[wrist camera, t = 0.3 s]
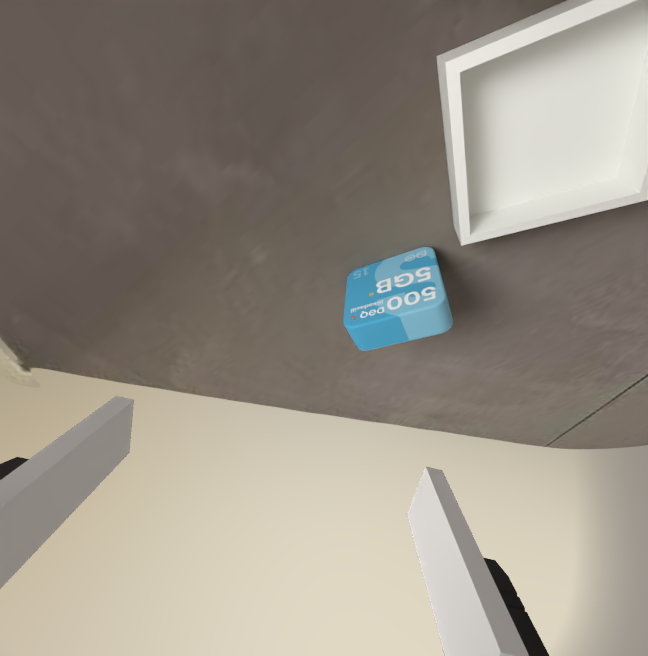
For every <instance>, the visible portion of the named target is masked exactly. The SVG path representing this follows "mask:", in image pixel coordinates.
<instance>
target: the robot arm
mask: <svg viewBox="0 0 648 656" xmlns="http://www.w3.org/2000/svg"><path fill="white" fill-rule="evenodd" d="M133 404H134V400H132V399H128V398H123V397H119V396H115V397H114V398H113V399H111V400H110V401H108V402H107V403H106V404H104V405H103V406H102V407H100V408H99V409H98V410H96V411H95V412H94V413H92V414H91V415H89V416H88V417H87V418H85V419H84V420H82V421H81V422H80V423H78V424H77V425H76V426H74V427H73V428H71V429H70V430H69V431H67V432H66V433H65V434H63V435H62V436H60V437H59V438H58V439H56V440H55V441H54V442H52V443H51V444H49V445H48V446H47V447H45V448H44V449H43V450H41V451H40V452H39V453H37V454H36V455H34V456H33V457H32V458H30V459H24V458H19V457H16V458H14V459H11V460H9V461H7V462H4V463H2V464H0V589H1V588H2V586H3V585H4V584H5V583H6V582H7V581H8V580H9V579H10V578H11V577H12V576H13V575H14V574H15V573H16V572H17V571H18V570H19V569H20V568H21V566H22V565H23V564H24V563H25V562H26V561H27V560H28V559H29V558H30V557H31V556H32V555H33V554H34V553H35V552H36V551H37V550H38V549H39V547H40V546H41V545H42V544H43V543H44V542H45V541H46V540H47V539H48V538H49V537H50V536H51V535H52V534H53V533H54V532H55V530H57V528H58V527H59V526H60V525H61V524H62V523H63V522H64V521H65V520H66V519H67V518H68V517H69V515H71V514H72V513H73V512H74V511H75V509H76V508H77V507H78V506H79V505H80V504H81V503H82V502H83V501H84V500H85V499H86V498H87V497H88V496H89V495H90V494H91V493H92V492H93V491H94V490H95V488H96V487H97V486H98V485H99V484H100V483H101V482H102V481H103V480H104V479H105V478H106V476H108V475H109V473H111V472H112V471H113V469H114V468H115V467H116V466H117V465H118V464H119V463H120V462H121V461H122V460H123V459H124V458H125V457H126V456H127V454H128V453H129V450H130V439H131V427H132V416H133ZM407 517H408V521H409V524H410V528H411V532H412V536H413V539H414V543H415V547H416V550H417V554H418V558H419V562H420V566H421V570H422V573H423V577H424V580H425V585H426V588H427V592H428V595H429V599H430V603H431V607H432V611H433V615H434V618H435V622H436V625H437V630H438V633H439V637H440V641H441V644H442V648H443V652H444V656H549V654H548V653H547V650H546V649H545V647H544V645H543V643H542V641H541V639H540V637H539V635H538V633H537V631H536V629H535V627H534V626H533V624H532V622H531V620H530V618H529V616H528V614H527V612H525V608H524V606H523V604H522V602H521V600H520V598H519V597H517V592H516V591H515V589H514V587H513V585H512V583H511V581H510V579H509V577H508V576H507V574H506V573H505V572H504V571H503V569H502V568H501V567H500V566H499V565H498V563H497V562H496V561H495V560H491V559H487V558H483V556H482V554H481V552H480V550H479V548H478V546H477V544H476V541H475V539H474V537H473V535H472V533H471V531H470V529H469V526H468V524H467V522H466V520H465V518H464V516H463V514H462V512H461V509H460V507H459V505H458V503H457V501H456V499H455V497H454V494H453V493H452V490H451V488H450V486H449V484H448V482H447V480H446V477H445V475H444V473H443V471H442V470H438V469H434V468H430V467H425V470H424V472H423V475H422V477H421V480H420V482H419V485H418V488H417V490H416V493H415V495H414V498H413V500H412V503H411V505H410V508H409V510H408V513H407Z"/></svg>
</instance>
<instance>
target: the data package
mask: <svg viewBox="0 0 648 656" xmlns="http://www.w3.org/2000/svg"><path fill="white" fill-rule="evenodd" d="M452 325H453V318H452V314H451V310H450V306H449V303H448V299H447V295H446V291H445V287H444V284H443V280H442V276H441V272H440V269H439V265H438V262H437V258H436V254H435V251H434V249H433V248H431V247H421V248H418V249H415V250H412V251H409V252H406V253H403V254H400V255H397V256H394V257H391V258H388V259H385V260H382V261H379V262H376V263H373V264H370V265H367V266H364V267H361V268H358V269H356V270H354V271H352V272H351V273H350V274H349V276H348V278H347V288H346V299H345V311H344V326H345V327H346V329H347V331H348V332H349V334H350V336H351V338H352V339H353V341H354V343H355V344H356V346H357V347H358V348H359V349H360V350H364V351H367V350H372V349H376V348H381V347H385V346H389V345H394V344H398V343H402V342H407V341H411V340H416V339H420V338H424V337H429V336H433V335H437V334H442V333H444V332H446V331H448V330H449V329H450V328H451V327H452Z"/></svg>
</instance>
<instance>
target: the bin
mask: <svg viewBox="0 0 648 656" xmlns="http://www.w3.org/2000/svg"><path fill="white" fill-rule="evenodd" d="M437 66H438V76H439V86H440V96H441V105H442V115H443V125H444V135H445V145H446V155H447V165H448V175H449V185H450V194H451V204H452V214H453V224H454V228H455V230H456V233H457V236H458V238H459V241H460V243H461V246H462V245H466V244H470V243H474V242H478V241H482V240H486V239H490V238H495V237H499V236H503V235H507V234H511V233H515V232H519V231H523V230H527V229H531V228H535V227H540V226H544V225H548V224H552V223H556V222H560V221H564V220H568V219H572V218H576V217H580V216H584V215H589V214H593V213H597V212H601V211H605V210H609V209H613V208H617V207H621V206H625V205H629V204H633V203H638V202H642V201H646V200H648V0H567V1H564V2H562V3H560V4H557V5H555V6H553V7H550V8H548V9H546V10H543V11H541V12H539V13H536V14H534V15H532V16H529V17H527V18H525V19H522V20H520V21H518V22H515V23H513V24H511V25H509V26H506V27H504V28H502V29H499V30H497V31H495V32H492V33H490V34H488V35H485V36H483V37H481V38H478V39H476V40H474V41H471V42H469V43H467V44H464V45H462V46H460V47H457V48H455V49H453V50H450V51H448V52H446V53H443V54H441V55H439V56H437Z"/></svg>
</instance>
